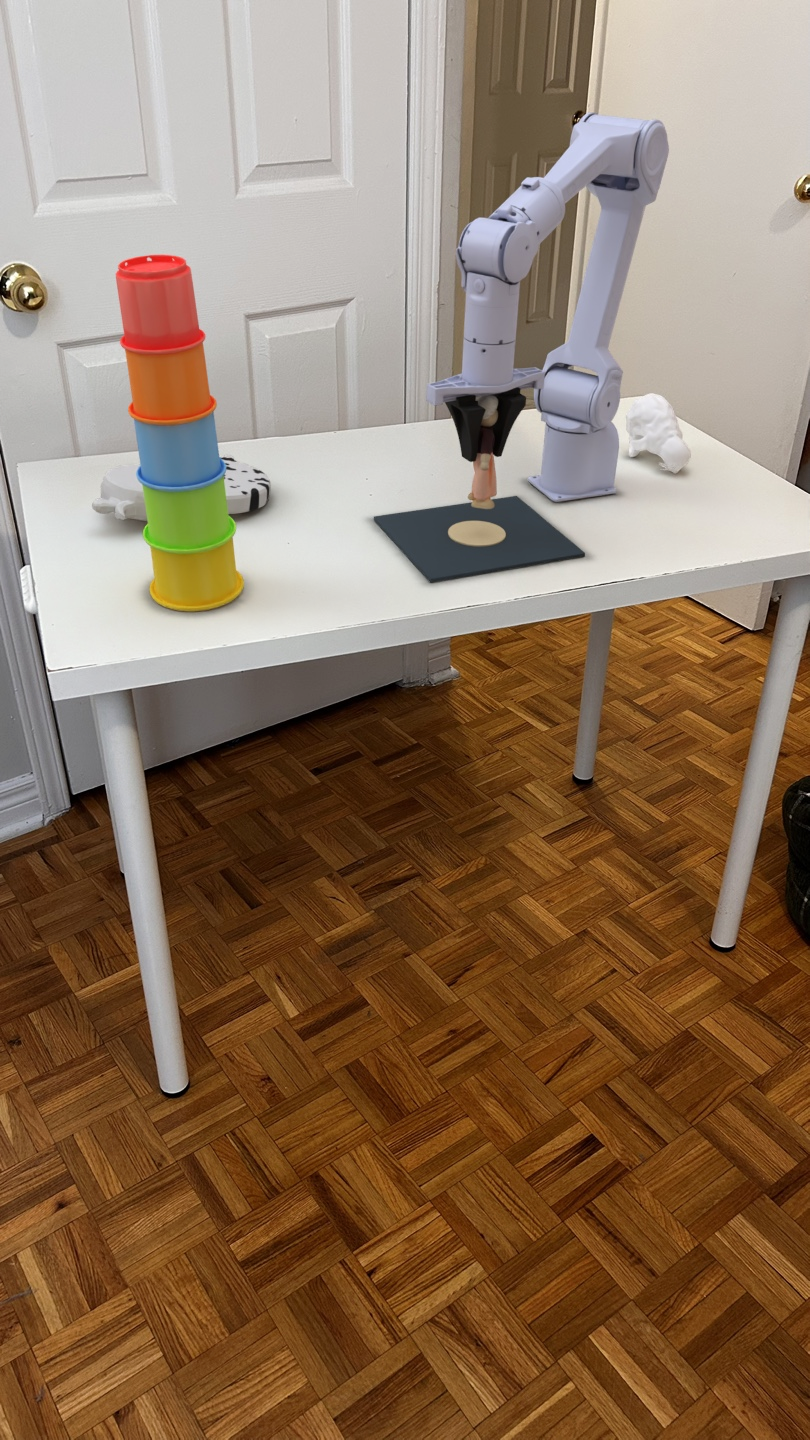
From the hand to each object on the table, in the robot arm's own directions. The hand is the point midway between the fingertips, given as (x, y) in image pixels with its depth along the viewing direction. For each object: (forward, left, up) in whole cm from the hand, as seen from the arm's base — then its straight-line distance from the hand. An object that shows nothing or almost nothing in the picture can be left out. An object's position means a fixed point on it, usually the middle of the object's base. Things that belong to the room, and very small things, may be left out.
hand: (481, 456), depth 131 cm
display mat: (0, 0, -10) cm, 10 cm away
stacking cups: (+35, +2, -11) cm, 37 cm away
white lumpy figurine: (-35, -14, -11) cm, 39 cm away
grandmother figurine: (0, 0, -6) cm, 6 cm away
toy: (+31, -21, -11) cm, 39 cm away
